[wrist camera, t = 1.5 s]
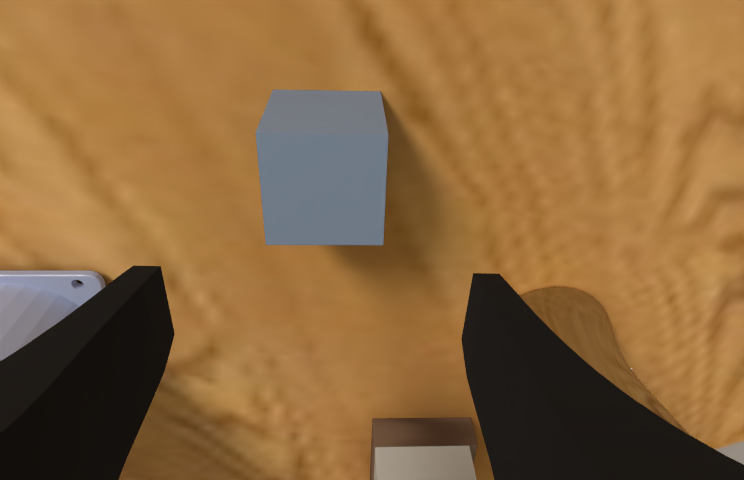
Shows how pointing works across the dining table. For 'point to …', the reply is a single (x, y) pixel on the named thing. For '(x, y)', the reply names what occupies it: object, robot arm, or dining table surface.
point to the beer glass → (592, 339)
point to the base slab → (421, 434)
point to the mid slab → (424, 463)
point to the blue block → (323, 167)
